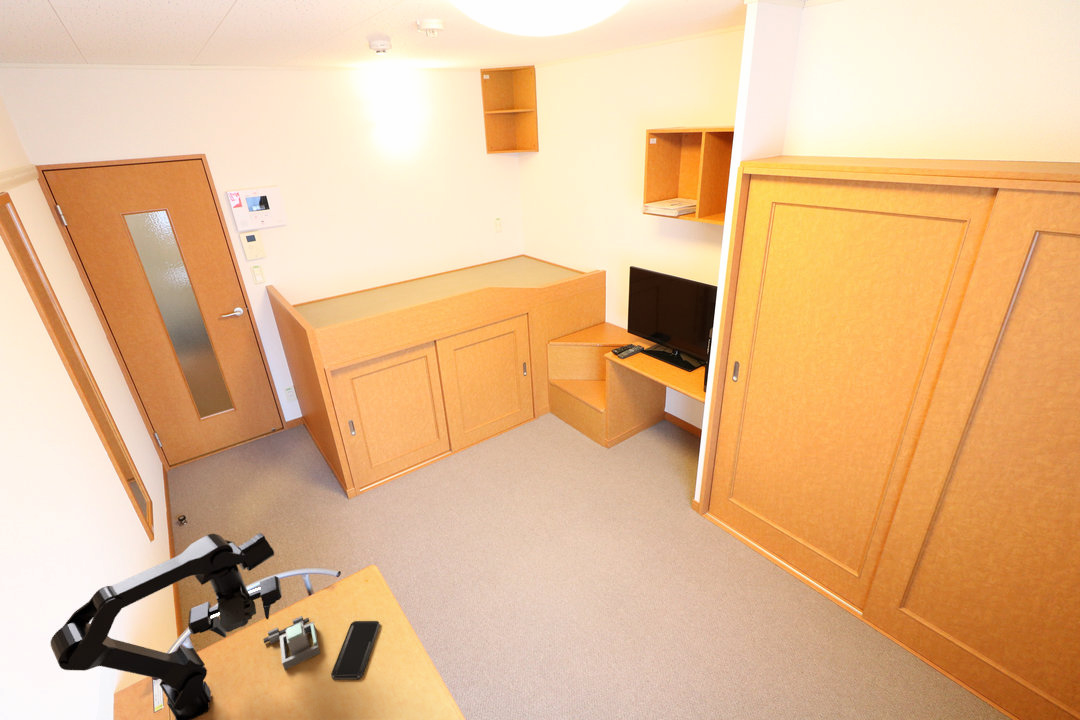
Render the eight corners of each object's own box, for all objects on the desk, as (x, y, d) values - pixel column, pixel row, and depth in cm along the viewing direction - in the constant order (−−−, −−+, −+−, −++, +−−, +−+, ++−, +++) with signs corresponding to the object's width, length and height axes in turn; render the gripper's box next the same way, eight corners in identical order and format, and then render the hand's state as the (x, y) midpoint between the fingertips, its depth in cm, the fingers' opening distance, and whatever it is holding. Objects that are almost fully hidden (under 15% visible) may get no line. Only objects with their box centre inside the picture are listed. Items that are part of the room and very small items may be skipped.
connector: (293, 658, 126) (286, 641, 123) (291, 645, 129) (284, 628, 126) (310, 650, 127) (303, 633, 124) (308, 637, 130) (301, 620, 127)
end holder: (284, 669, 123) (281, 661, 122) (281, 642, 129) (278, 634, 128) (319, 653, 126) (317, 645, 125) (315, 627, 133) (312, 619, 132)
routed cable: (265, 646, 129) (262, 641, 128) (264, 638, 131) (262, 633, 130) (310, 626, 133) (308, 620, 132) (309, 619, 135) (307, 613, 134)
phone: (329, 677, 120) (351, 620, 134) (330, 680, 121) (352, 623, 134) (361, 677, 120) (380, 620, 133) (362, 680, 120) (381, 623, 134)
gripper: (176, 629, 104) (200, 674, 111) (274, 590, 112) (291, 635, 119) (180, 589, 113) (202, 634, 120) (271, 556, 121) (287, 600, 128)
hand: (246, 626), depth 122 cm, fingers open, 9 cm apart
